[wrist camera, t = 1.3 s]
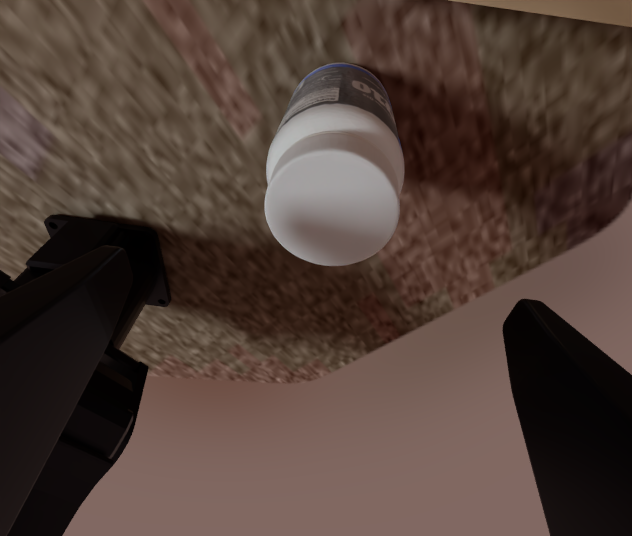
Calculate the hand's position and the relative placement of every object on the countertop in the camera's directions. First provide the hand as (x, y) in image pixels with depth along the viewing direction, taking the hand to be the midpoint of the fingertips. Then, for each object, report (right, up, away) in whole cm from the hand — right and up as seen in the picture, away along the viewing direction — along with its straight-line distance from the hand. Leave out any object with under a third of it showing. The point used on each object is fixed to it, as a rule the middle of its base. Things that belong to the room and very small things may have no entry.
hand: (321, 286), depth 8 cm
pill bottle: (+1, +7, +9) cm, 12 cm away
